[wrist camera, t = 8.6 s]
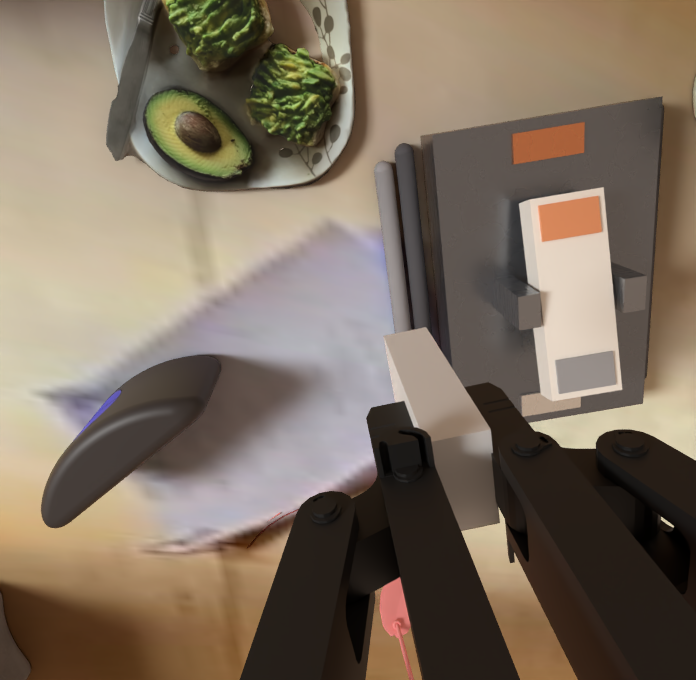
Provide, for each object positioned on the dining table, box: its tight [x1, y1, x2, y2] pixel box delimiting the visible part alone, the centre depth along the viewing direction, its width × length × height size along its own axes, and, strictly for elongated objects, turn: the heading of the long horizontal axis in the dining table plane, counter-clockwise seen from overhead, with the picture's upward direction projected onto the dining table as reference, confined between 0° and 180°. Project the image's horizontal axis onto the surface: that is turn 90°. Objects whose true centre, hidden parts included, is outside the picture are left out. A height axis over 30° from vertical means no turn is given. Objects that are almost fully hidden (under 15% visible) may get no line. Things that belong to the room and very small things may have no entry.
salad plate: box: [104, 0, 355, 191], centre depth 34 cm, size 19×18×5 cm
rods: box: [374, 105, 664, 379], centre depth 42 cm, size 24×22×1 cm
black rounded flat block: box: [41, 356, 221, 528], centre depth 40 cm, size 16×5×9 cm, turn 129°
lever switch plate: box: [421, 96, 663, 423], centre depth 38 cm, size 24×16×9 cm, turn 9°
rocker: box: [519, 187, 622, 401], centre depth 36 cm, size 14×5×2 cm, turn 9°
